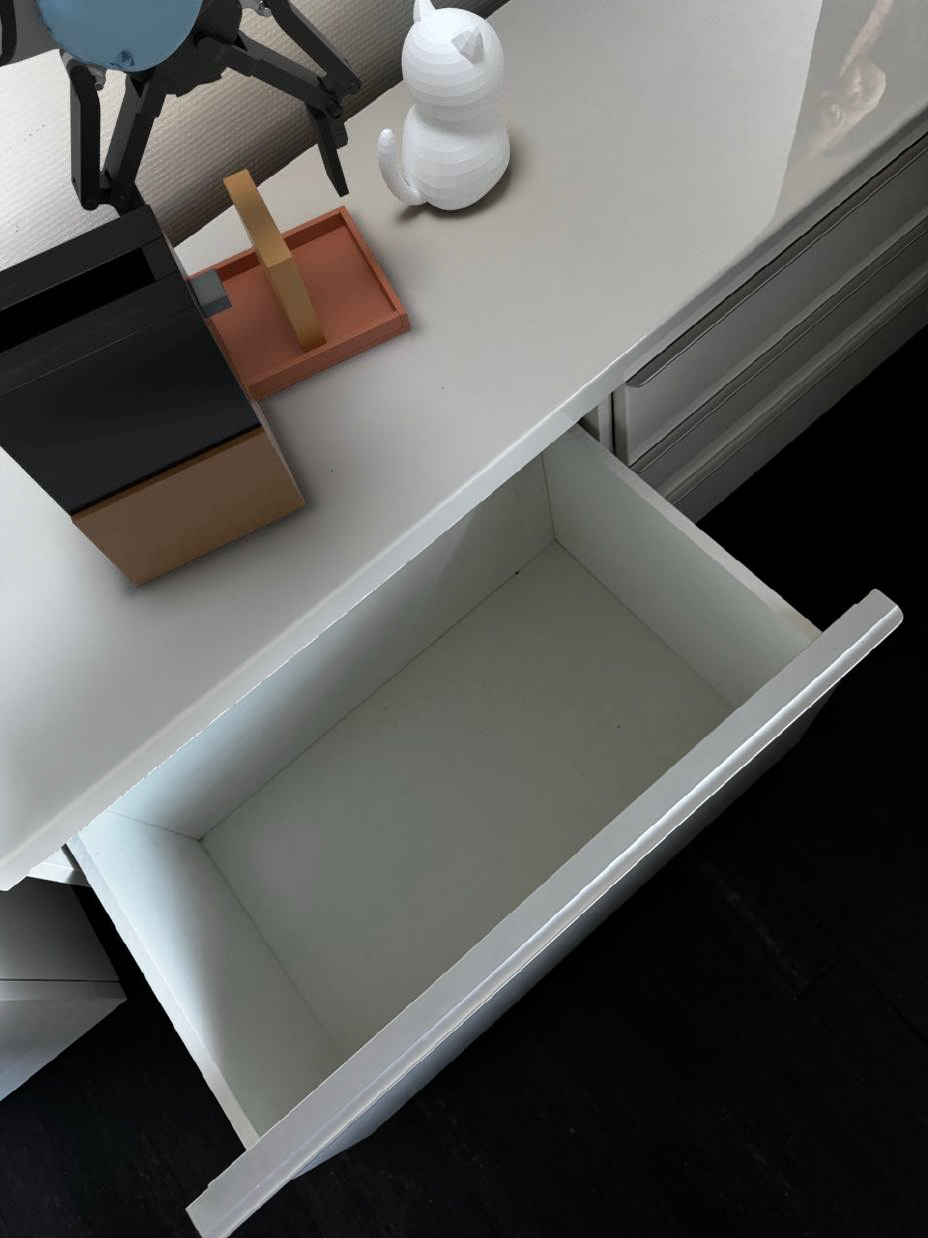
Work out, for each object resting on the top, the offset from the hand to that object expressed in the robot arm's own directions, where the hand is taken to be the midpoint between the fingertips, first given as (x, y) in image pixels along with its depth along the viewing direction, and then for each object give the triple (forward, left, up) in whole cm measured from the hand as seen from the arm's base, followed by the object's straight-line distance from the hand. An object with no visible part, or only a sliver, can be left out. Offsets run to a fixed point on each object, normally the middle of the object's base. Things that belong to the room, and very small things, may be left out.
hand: (254, 221), depth 76 cm
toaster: (-13, -12, -10) cm, 21 cm away
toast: (0, 0, -10) cm, 10 cm away
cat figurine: (+17, +6, -10) cm, 21 cm away
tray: (0, 0, -10) cm, 10 cm away
